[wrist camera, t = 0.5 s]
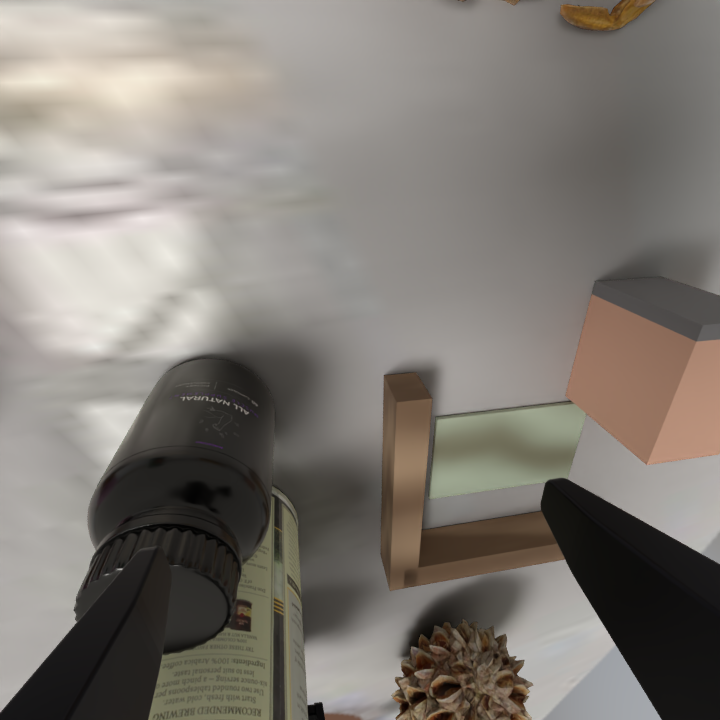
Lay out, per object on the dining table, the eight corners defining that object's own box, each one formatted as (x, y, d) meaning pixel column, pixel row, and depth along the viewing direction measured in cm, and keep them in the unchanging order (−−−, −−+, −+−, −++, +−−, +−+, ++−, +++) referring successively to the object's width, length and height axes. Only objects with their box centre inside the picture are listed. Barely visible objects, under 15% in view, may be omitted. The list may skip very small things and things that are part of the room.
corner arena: (577, 521, 34) (602, 552, 32) (380, 554, 32) (389, 590, 29) (633, 351, 27) (672, 372, 24) (383, 375, 24) (396, 402, 22)
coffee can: (171, 594, 30) (94, 909, 17) (116, 491, 25) (-44, 827, 13) (311, 562, 31) (333, 836, 18) (285, 457, 26) (290, 735, 14)
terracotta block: (623, 389, 28) (718, 454, 22) (565, 395, 28) (646, 464, 22) (661, 276, 25) (786, 317, 19) (595, 281, 24) (703, 325, 18)
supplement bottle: (250, 338, 22) (224, 509, 11) (290, 434, 25) (298, 636, 15) (124, 375, 22) (-21, 586, 11) (182, 467, 25) (111, 698, 14)
